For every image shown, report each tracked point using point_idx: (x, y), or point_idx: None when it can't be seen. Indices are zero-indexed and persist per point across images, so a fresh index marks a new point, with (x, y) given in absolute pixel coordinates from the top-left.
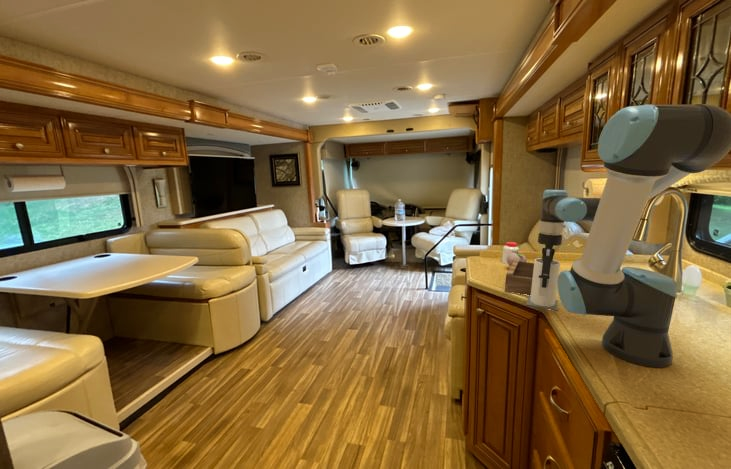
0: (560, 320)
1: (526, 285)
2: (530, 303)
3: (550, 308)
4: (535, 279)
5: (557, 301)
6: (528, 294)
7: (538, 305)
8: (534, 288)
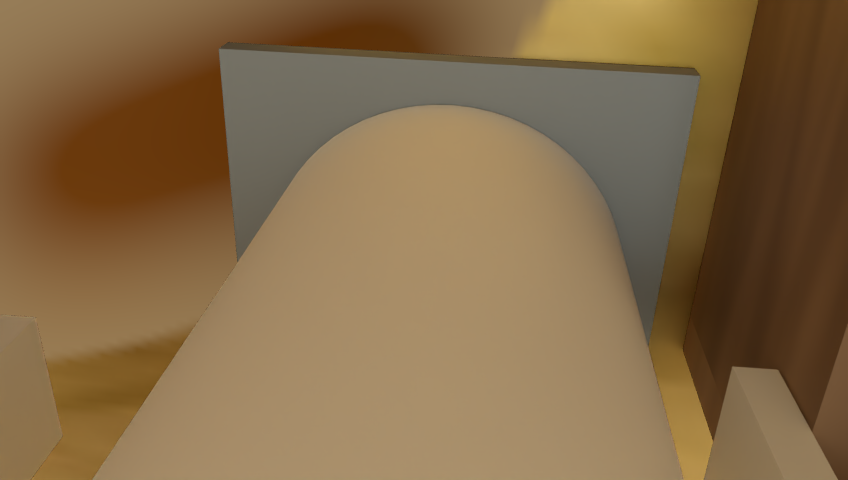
0: None
1: (832, 63)
2: (285, 112)
3: None
4: (149, 415)
5: None
6: (750, 72)
7: None
8: (243, 271)
